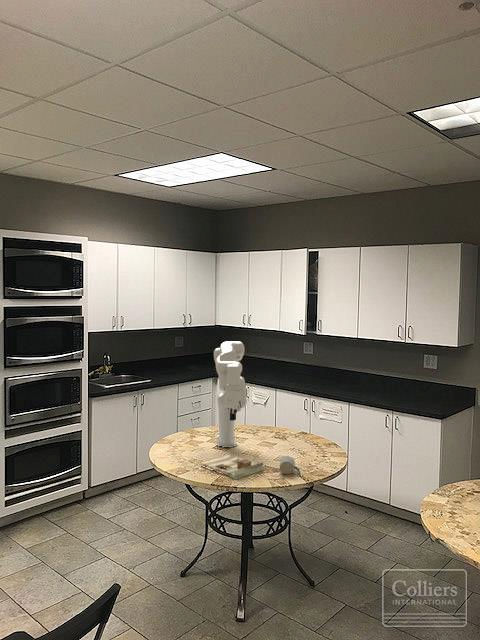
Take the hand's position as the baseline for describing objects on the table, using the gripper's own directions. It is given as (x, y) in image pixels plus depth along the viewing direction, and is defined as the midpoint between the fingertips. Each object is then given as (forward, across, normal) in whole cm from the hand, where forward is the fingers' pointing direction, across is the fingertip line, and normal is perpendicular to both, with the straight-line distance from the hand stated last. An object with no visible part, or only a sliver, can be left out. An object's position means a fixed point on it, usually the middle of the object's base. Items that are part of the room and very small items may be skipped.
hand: (232, 420), depth 289 cm
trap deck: (+22, +9, -9) cm, 26 cm away
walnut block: (+20, +18, -9) cm, 28 cm away
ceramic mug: (+22, +34, +8) cm, 41 cm away
